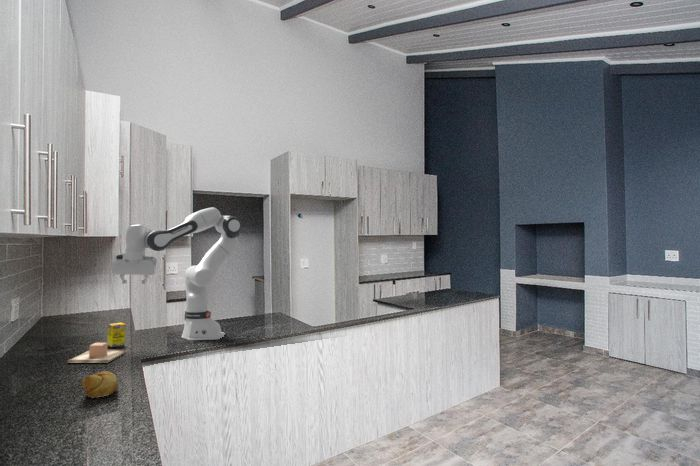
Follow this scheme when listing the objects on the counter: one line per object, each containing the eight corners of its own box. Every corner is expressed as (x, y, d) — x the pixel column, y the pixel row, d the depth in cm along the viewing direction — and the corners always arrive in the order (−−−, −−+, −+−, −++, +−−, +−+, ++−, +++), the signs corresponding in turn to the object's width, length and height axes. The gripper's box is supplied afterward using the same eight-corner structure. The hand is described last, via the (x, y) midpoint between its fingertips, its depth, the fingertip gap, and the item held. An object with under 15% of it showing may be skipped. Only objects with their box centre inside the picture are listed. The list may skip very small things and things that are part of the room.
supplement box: (111, 348, 188) (112, 325, 188) (106, 346, 191) (107, 323, 191) (124, 346, 192) (126, 323, 193) (119, 344, 196) (120, 322, 196)
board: (125, 353, 181) (125, 349, 181) (107, 363, 165) (107, 360, 165) (89, 352, 179) (89, 349, 179) (67, 363, 163) (67, 360, 163)
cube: (107, 353, 175) (107, 342, 175) (101, 357, 170) (101, 345, 170) (95, 353, 174) (95, 342, 174) (89, 357, 169) (89, 345, 169)
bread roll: (91, 388, 139) (92, 365, 139) (122, 385, 142) (123, 363, 142) (79, 402, 126) (80, 377, 127) (113, 399, 129) (114, 375, 130)
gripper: (159, 256, 200) (158, 283, 200) (117, 255, 198) (116, 282, 198) (154, 256, 194) (153, 284, 194) (110, 256, 192) (109, 284, 192)
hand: (134, 283), depth 196 cm, fingers open, 8 cm apart
